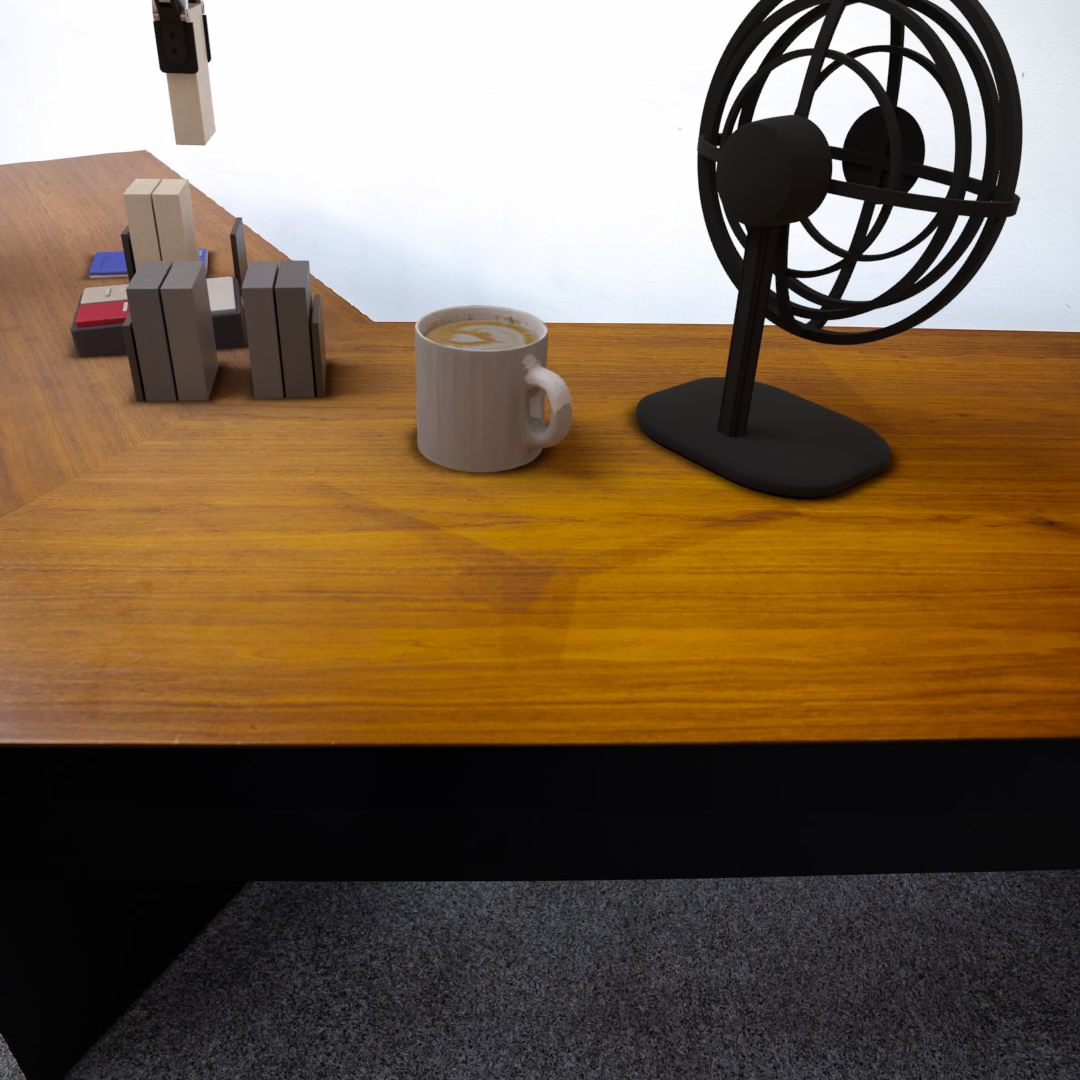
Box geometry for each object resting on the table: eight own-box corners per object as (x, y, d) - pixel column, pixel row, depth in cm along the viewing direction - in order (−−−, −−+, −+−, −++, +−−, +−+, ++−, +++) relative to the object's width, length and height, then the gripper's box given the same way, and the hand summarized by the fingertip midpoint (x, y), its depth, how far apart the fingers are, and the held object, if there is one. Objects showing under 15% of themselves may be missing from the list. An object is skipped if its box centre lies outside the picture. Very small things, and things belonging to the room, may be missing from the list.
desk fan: (970, 474, 78) (1130, -36, 59) (838, 543, 68) (979, -43, 50) (715, 366, 95) (776, -55, 77) (579, 408, 85) (613, -63, 67)
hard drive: (207, 246, 118) (96, 250, 115) (205, 266, 111) (88, 271, 108) (208, 259, 119) (99, 263, 116) (207, 280, 112) (91, 285, 109)
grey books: (137, 406, 82) (114, 288, 77) (152, 371, 88) (132, 260, 83) (324, 401, 85) (315, 287, 79) (326, 368, 91) (318, 260, 85)
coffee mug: (393, 439, 79) (389, 319, 73) (493, 410, 84) (495, 297, 79) (492, 508, 70) (495, 378, 65) (596, 471, 76) (606, 348, 70)
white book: (175, 144, 89) (156, 8, 83) (188, 131, 95) (171, 2, 89) (205, 145, 90) (188, 9, 84) (215, 131, 95) (201, 3, 90)
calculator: (78, 284, 96) (236, 269, 100) (90, 326, 99) (243, 310, 102) (67, 322, 88) (240, 304, 91) (79, 367, 90) (247, 348, 93)
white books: (132, 300, 104) (113, 193, 98) (144, 280, 110) (126, 178, 104) (243, 299, 106) (230, 194, 100) (249, 279, 112) (237, 179, 106)
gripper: (130, -169, 87) (161, 54, 96) (80, -187, 72) (123, 79, 81) (218, -163, 88) (240, 57, 97) (187, -179, 73) (216, 82, 82)
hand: (186, 65), depth 89 cm, fingers closed on white book, 7 cm apart
